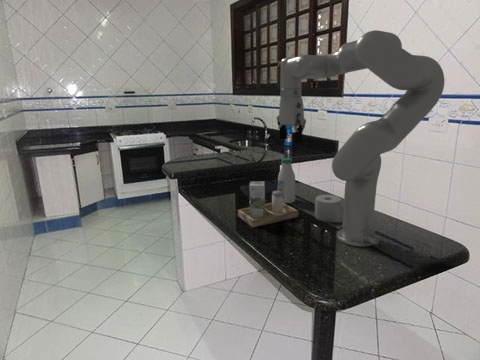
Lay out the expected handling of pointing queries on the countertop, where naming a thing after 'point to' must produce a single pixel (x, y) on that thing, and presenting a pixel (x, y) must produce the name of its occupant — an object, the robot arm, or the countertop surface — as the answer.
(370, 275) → the countertop surface
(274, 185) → the dark slate chunk
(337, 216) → the toilet tissue
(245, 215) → the caddy
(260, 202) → the syrup box
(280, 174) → the milk bottle
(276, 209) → the shaker
